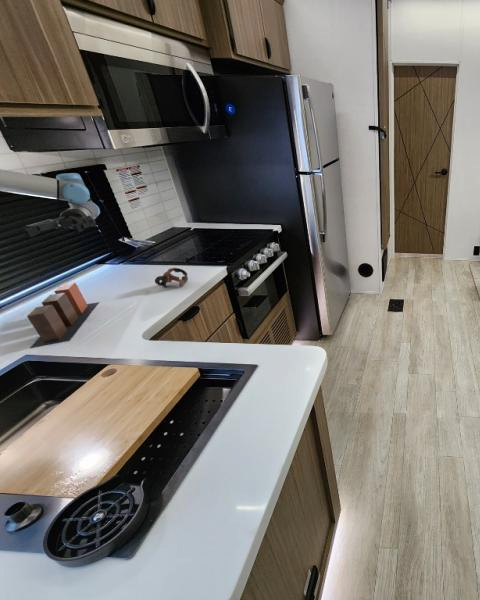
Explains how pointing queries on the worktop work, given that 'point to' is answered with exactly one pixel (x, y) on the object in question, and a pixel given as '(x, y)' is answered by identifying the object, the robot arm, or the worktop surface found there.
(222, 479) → the worktop surface
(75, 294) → the terracotta toy brick
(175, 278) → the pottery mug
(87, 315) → the dark gray mat
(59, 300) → the brown wooden block
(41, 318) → the dark brown cuboid
